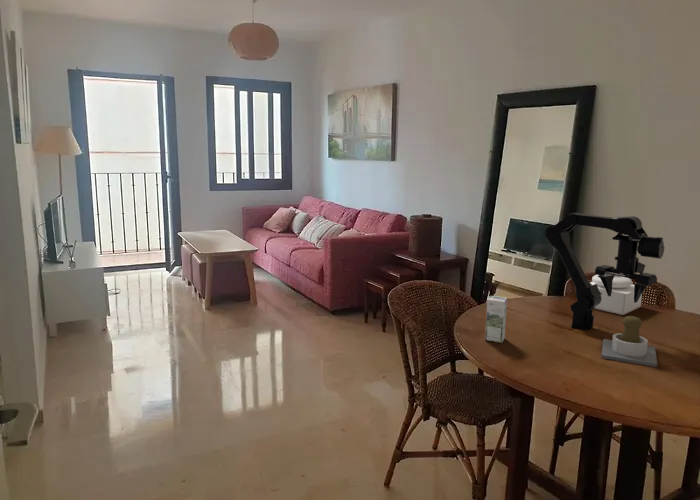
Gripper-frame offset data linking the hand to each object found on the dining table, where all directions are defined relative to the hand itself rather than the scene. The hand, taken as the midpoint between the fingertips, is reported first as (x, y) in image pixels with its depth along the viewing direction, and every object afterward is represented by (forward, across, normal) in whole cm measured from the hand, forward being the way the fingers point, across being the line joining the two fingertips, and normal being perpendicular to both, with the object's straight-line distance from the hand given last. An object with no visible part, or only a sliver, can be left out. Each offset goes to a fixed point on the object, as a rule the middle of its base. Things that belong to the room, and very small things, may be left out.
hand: (622, 299), depth 183 cm
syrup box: (+13, +20, +39) cm, 46 cm away
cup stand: (+13, -11, +13) cm, 22 cm away
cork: (+12, -11, +13) cm, 21 cm away
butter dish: (+13, +22, -32) cm, 41 cm away
